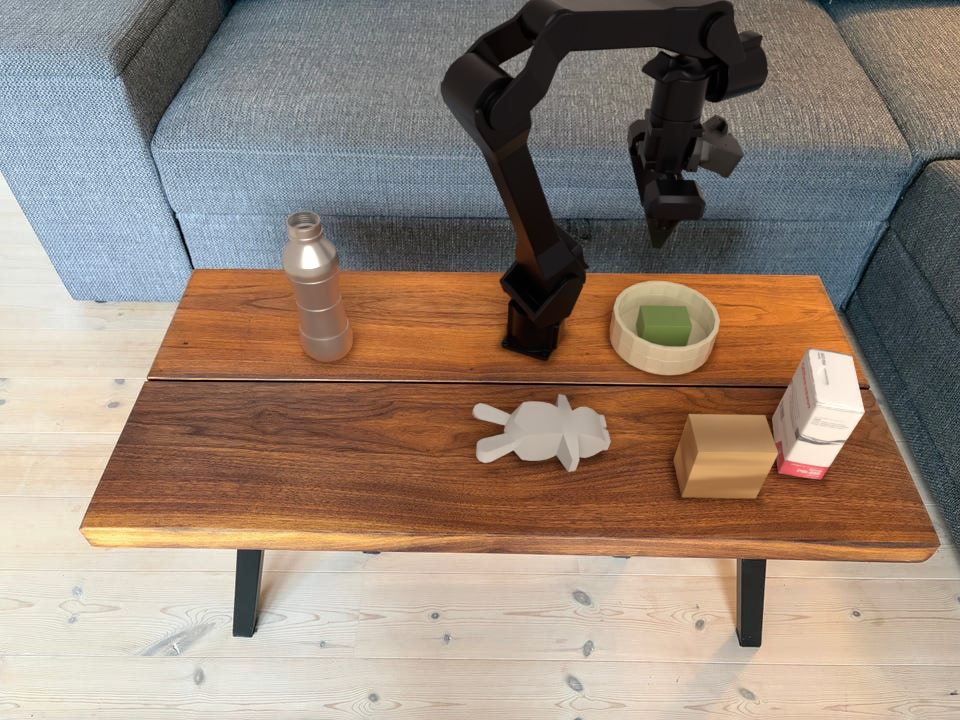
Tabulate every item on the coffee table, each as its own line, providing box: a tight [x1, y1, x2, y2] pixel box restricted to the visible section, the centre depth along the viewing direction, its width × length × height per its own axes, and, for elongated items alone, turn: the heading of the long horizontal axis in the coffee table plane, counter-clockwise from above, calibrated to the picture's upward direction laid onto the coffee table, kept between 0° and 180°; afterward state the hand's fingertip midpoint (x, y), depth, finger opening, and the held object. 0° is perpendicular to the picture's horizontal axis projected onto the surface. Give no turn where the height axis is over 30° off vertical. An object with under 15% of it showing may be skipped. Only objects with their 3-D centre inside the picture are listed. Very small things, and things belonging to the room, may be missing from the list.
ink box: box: [771, 347, 866, 481], centre depth 78 cm, size 9×5×12 cm, turn 168°
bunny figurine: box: [471, 393, 612, 473], centre depth 80 cm, size 10×5×15 cm
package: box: [636, 305, 692, 346], centre depth 93 cm, size 4×6×4 cm, turn 90°
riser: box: [673, 413, 778, 499], centre depth 76 cm, size 5×8×8 cm, turn 89°
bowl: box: [609, 280, 721, 376], centre depth 93 cm, size 13×13×4 cm
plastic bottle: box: [280, 210, 354, 363], centre depth 85 cm, size 6×7×20 cm
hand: (650, 226), depth 92 cm, fingers open, 9 cm apart
